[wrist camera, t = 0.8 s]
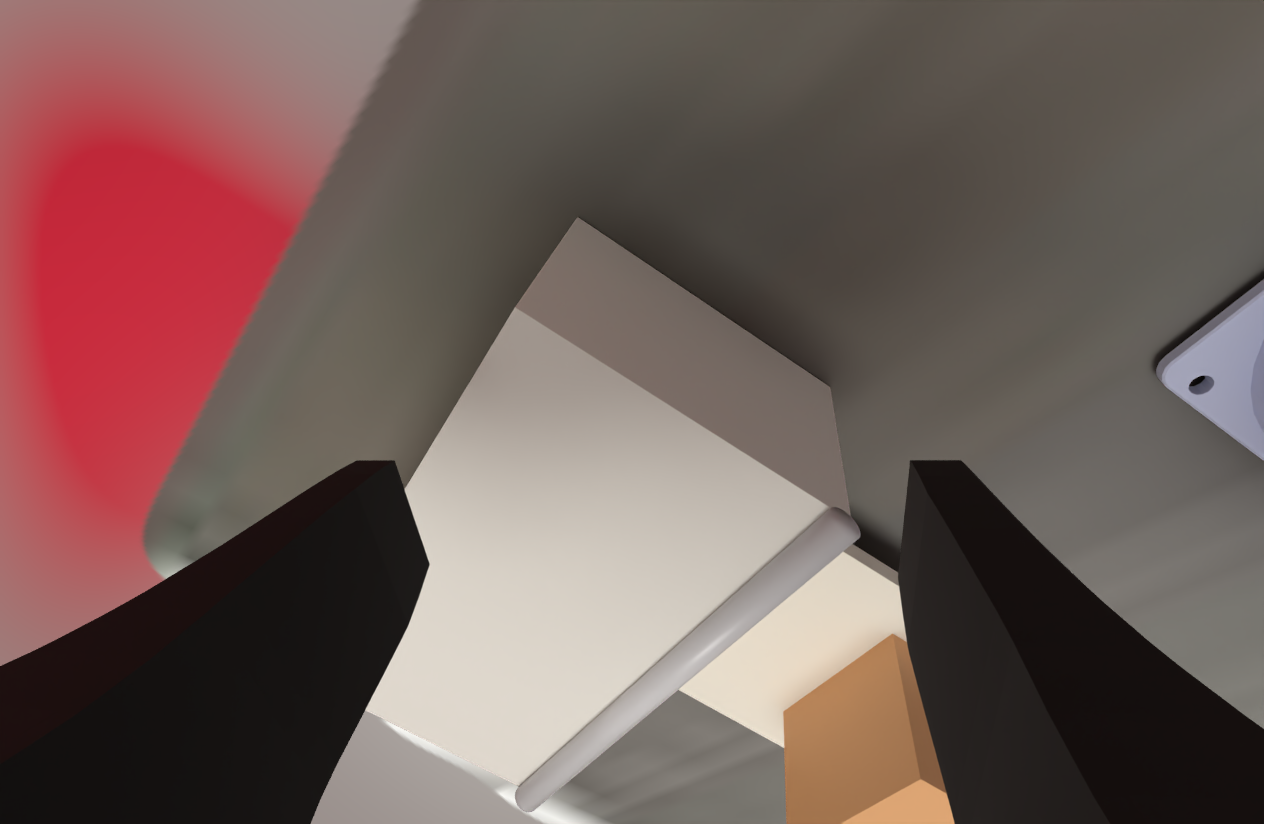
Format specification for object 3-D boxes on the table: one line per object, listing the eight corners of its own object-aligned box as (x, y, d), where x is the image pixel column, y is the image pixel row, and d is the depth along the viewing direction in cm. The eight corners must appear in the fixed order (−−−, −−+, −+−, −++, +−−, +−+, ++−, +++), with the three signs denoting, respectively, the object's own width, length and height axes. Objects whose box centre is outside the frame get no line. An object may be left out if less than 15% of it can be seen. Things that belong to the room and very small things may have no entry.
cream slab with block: (978, 623, 21) (1032, 789, 17) (800, 741, 26) (808, 899, 21) (575, 369, 19) (520, 491, 15) (450, 546, 23) (379, 681, 19)
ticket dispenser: (836, 391, 20) (862, 546, 14) (577, 652, 27) (535, 816, 22) (577, 216, 18) (505, 321, 13) (378, 542, 25) (281, 692, 20)
